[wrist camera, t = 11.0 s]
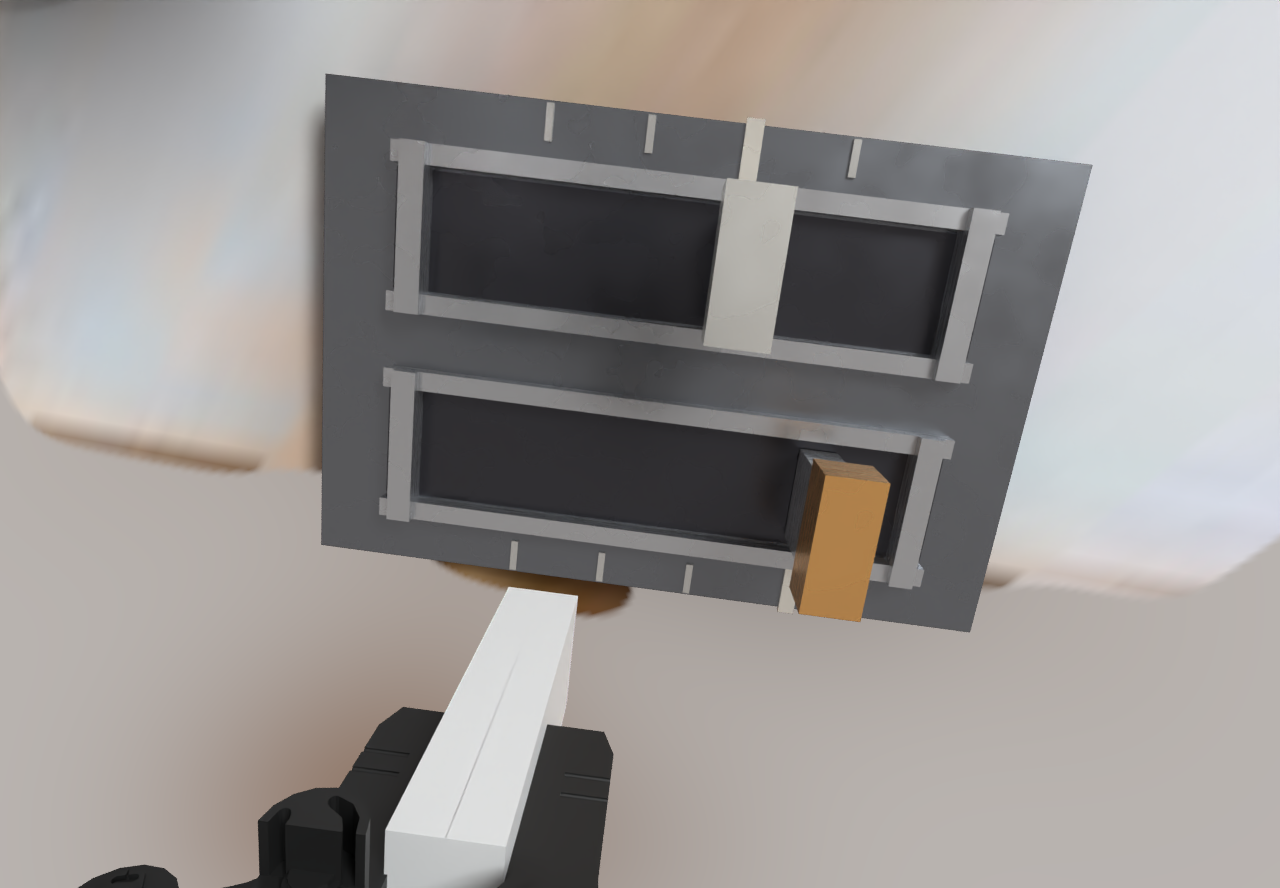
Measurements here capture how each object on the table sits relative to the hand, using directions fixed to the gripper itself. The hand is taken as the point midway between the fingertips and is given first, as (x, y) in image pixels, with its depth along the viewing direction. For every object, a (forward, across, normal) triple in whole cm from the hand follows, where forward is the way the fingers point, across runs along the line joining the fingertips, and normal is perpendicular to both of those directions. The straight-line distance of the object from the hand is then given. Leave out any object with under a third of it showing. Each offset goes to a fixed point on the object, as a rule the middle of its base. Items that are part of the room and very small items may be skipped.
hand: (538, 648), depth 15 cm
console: (+18, +2, +4) cm, 18 cm away
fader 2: (+16, +9, -1) cm, 18 cm away
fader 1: (+16, +4, +8) cm, 18 cm away
